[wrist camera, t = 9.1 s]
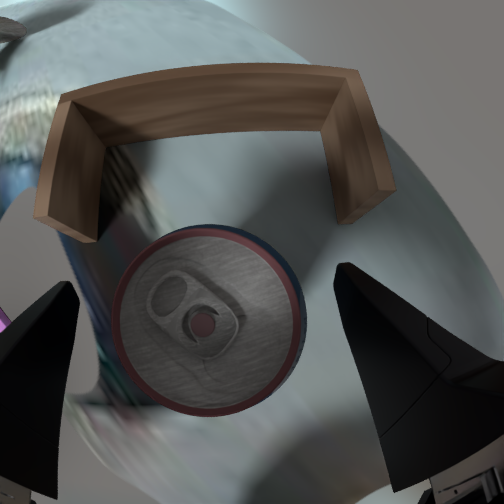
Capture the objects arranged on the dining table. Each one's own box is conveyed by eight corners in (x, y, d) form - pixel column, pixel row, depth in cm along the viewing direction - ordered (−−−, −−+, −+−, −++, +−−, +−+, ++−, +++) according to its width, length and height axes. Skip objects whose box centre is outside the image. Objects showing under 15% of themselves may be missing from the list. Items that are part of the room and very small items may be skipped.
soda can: (292, 305, 20) (364, 303, 8) (230, 381, 19) (224, 470, 7) (214, 244, 21) (189, 166, 9) (153, 319, 19) (58, 331, 8)
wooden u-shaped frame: (352, 223, 22) (396, 190, 15) (84, 243, 20) (32, 218, 13) (331, 122, 23) (357, 70, 16) (95, 140, 22) (61, 94, 15)
